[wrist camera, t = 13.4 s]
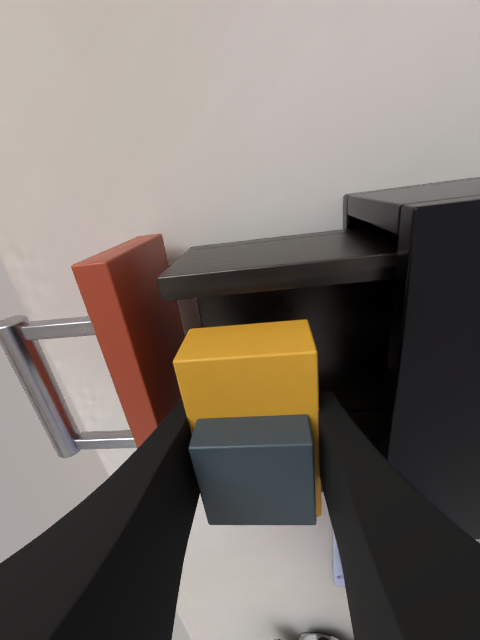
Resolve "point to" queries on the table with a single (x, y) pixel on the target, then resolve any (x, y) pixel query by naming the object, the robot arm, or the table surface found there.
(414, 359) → the drawer cabinet
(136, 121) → the table surface
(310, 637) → the robot toy
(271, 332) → the yellow and grey block
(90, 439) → the cabinet drawer
